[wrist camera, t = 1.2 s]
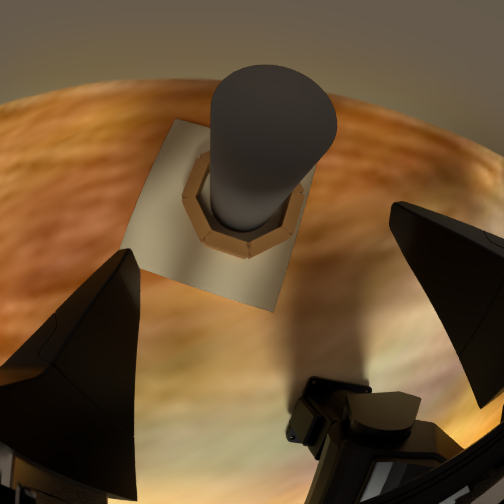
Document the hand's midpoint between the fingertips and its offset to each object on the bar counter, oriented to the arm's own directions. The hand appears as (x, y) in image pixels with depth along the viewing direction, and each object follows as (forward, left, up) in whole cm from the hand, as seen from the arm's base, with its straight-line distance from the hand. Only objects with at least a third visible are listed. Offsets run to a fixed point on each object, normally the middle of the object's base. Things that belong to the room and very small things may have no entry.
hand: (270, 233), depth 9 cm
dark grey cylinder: (+1, -5, -13) cm, 14 cm away
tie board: (+3, -4, -14) cm, 15 cm away
